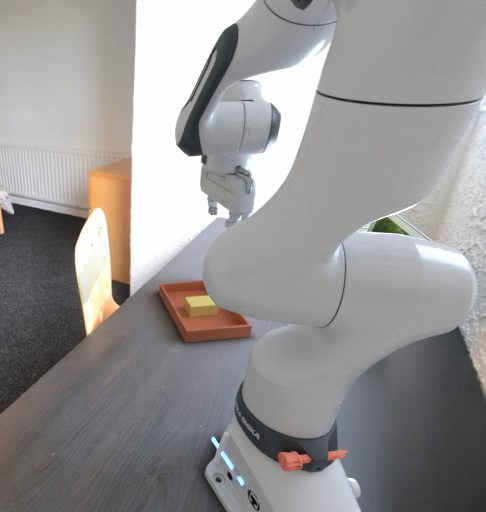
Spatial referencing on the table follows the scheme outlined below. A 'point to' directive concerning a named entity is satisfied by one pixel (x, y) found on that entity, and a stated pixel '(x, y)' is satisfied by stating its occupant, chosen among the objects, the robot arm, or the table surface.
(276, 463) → the robot arm
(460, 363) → the table surface
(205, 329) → the orange tray
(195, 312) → the sponge
